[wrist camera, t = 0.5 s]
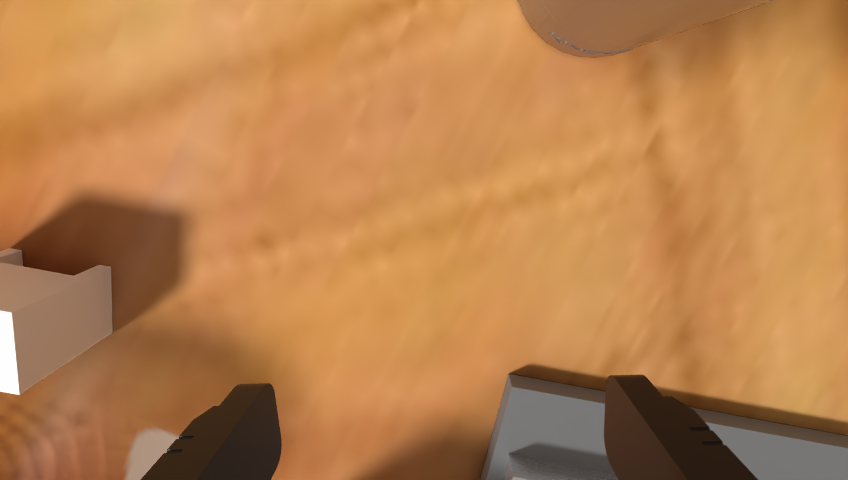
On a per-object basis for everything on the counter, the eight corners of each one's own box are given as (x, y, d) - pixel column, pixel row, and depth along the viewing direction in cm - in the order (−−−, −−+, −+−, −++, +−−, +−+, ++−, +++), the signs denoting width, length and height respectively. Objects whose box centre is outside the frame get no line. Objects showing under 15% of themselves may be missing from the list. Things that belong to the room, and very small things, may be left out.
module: (16, 315, 30) (-110, 374, 24) (9, 248, 29) (-126, 289, 22) (112, 333, 31) (15, 397, 24) (111, 266, 29) (7, 314, 22)
